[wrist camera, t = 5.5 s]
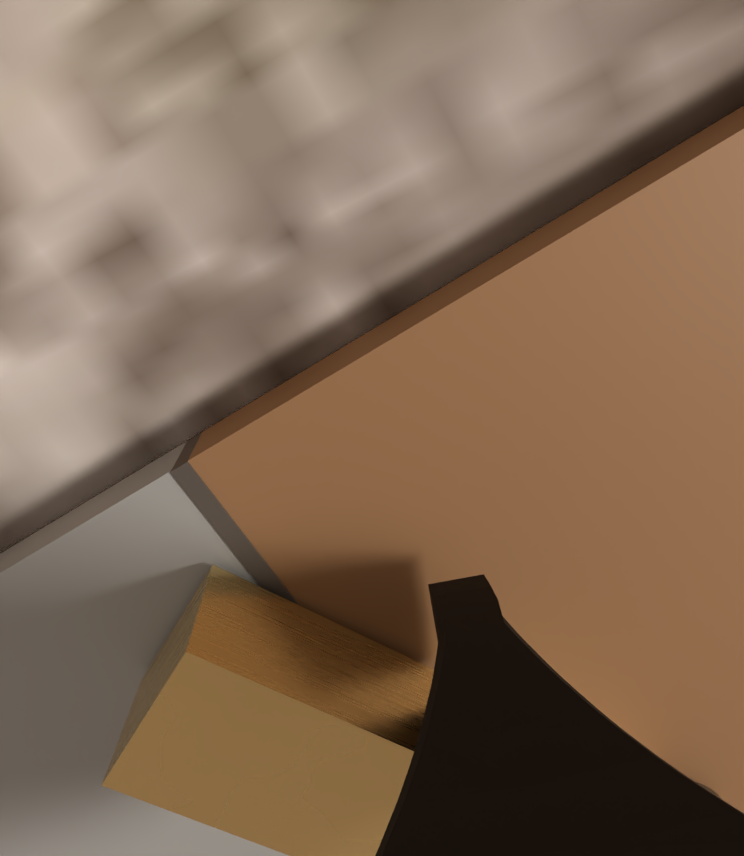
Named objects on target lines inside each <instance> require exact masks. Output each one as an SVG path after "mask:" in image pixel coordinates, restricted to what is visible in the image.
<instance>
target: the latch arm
mask: <svg viewBox="0 0 744 856" xmlns="http://www.w3.org/2000/svg"><path fill="white" fill-rule="evenodd" d="M433 672H434V669H432V668H430V667H428V666H426V665H423V664H421V663H419V662H417V661H415V660H413V659H411V658H409V657H407V656H405V655H402V654H400V653H398V652H396V651H394V650H392V649H390V648H388V647H386V646H384V645H381V644H379V643H377V642H375V641H373V640H371V639H369V638H367V637H365V636H362V635H360V634H358V633H356V632H354V631H352V630H350V629H348V628H346V627H344V626H341V625H339V624H337V623H335V622H333V621H331V620H329V619H327V618H325V617H323V616H320V615H318V614H316V613H314V612H312V611H310V610H308V609H306V608H304V607H301V606H299V605H297V604H295V603H293V602H291V601H289V600H287V599H285V598H283V597H280V596H278V595H276V594H274V593H272V592H270V591H268V590H266V589H264V588H262V587H259V586H257V585H255V584H253V583H251V582H249V581H247V580H245V579H243V578H240V577H238V576H236V575H234V574H232V573H230V572H228V571H226V570H224V569H222V568H219V567H217V566H215V565H213V564H212V566H211V568H210V569H209V571H208V573H207V574H206V576H205V577H204V579H203V581H202V582H201V584H200V586H199V587H198V589H197V590H196V592H195V594H194V595H193V597H192V599H191V600H190V602H189V603H188V605H187V607H186V608H185V610H184V612H183V613H182V615H181V616H180V618H179V620H178V621H177V623H176V625H175V626H174V628H173V629H172V631H171V633H170V634H169V636H168V638H167V639H166V641H165V642H164V644H163V646H162V647H161V649H160V651H159V652H158V654H157V655H156V657H155V659H154V660H153V662H152V664H151V665H150V667H149V668H148V670H147V672H146V673H145V675H144V676H143V678H142V680H141V682H140V685H139V687H138V690H137V693H136V695H135V698H134V701H133V703H132V706H131V709H130V711H129V714H128V716H127V719H126V722H125V724H124V727H123V730H122V732H121V735H120V738H119V740H118V743H117V746H116V748H115V751H114V753H113V756H112V759H111V761H110V764H109V767H108V769H107V772H106V775H105V777H104V780H103V783H102V785H101V786H104V787H107V788H110V789H112V790H115V791H118V792H120V793H123V794H126V795H128V796H131V797H134V798H136V799H139V800H142V801H144V802H147V803H150V804H152V805H155V806H158V807H160V808H163V809H166V810H168V811H171V812H174V813H176V814H179V815H182V816H184V817H187V818H190V819H192V820H195V821H198V822H200V823H203V824H206V825H209V826H211V827H214V828H217V829H219V830H222V831H225V832H227V833H230V834H233V835H235V836H238V837H241V838H243V839H246V840H249V841H251V842H254V843H257V844H259V845H262V846H265V847H267V848H270V849H273V850H275V851H278V852H281V853H283V854H286V855H289V856H375V855H376V853H377V850H378V848H379V846H380V843H381V841H382V838H383V836H384V833H385V831H386V828H387V826H388V823H389V821H390V818H391V816H392V813H393V811H394V808H395V806H396V803H397V800H398V798H399V795H400V792H401V789H402V786H403V784H404V781H405V778H406V775H407V772H408V769H409V766H410V763H411V760H412V757H413V753H414V750H415V747H416V743H417V740H418V737H419V733H420V729H421V725H422V721H423V717H424V713H425V709H426V705H427V701H428V697H429V693H430V688H431V684H432V679H433ZM694 782H695V781H694ZM695 783H697V784H698V785H700V786H701V787H703V788H704V789H706V790H707V791H709V792H710V793H712V794H714V795H715V796H717V797H718V798H720V799H722V798H721V797H720V796H719V795H718V794H717V793H716V792H715V791H713V790H712V789H710V788H709V787H707V786H705V785H703V784H701V783H698V782H695ZM722 800H723V799H722Z"/></svg>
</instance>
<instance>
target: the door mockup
mask: <svg viewBox="0 0 744 856" xmlns="http://www.w3.org/2000/svg"><path fill="white" fill-rule="evenodd" d="M212 564H213V565H215V566H217V567H219V568H222V569H224V570H226V571H228V572H230V573H232V574H234V575H236V576H238V577H240V578H243V579H245V580H247V581H249V582H251V583H253V584H255V585H257V586H259V587H262V588H264V589H266V590H268V591H270V592H272V593H274V594H276V595H278V596H280V597H283V598H285V599H287V600H289V601H291V602H293V603H295V604H297V605H299V606H301V607H304V608H306V609H308V610H310V611H312V612H314V613H316V614H318V615H320V616H323V617H325V618H327V619H329V620H331V621H333V622H335V623H337V624H339V625H341V626H344V627H346V628H348V629H350V630H352V631H354V632H356V633H358V634H360V635H362V636H365V637H367V638H369V639H371V640H373V641H375V642H377V643H379V644H381V645H384V646H386V647H388V648H390V649H392V650H394V651H396V652H398V653H400V654H402V655H405V656H407V657H409V658H411V659H413V660H415V661H417V662H419V663H421V664H423V665H426V666H428V667H430V668H432V669H434V666H435V660H436V654H437V647H438V640H437V634H436V628H435V623H434V617H433V611H432V605H431V599H430V593H429V587H428V584H432V583H438V582H443V581H449V580H455V579H460V578H466V577H471V576H477V575H482V574H484V575H485V577H486V578H487V580H488V582H489V584H490V585H491V587H492V589H493V591H494V593H495V595H496V597H497V599H498V601H499V605H500V609H501V612H502V616H503V617H504V618H505V619H506V620H507V622H508V623H509V624H510V625H511V626H512V627H513V628H514V629H515V631H516V632H517V633H518V634H519V635H520V636H521V637H522V638H523V639H524V640H525V641H526V642H527V643H528V644H529V645H530V646H531V647H532V648H533V649H534V650H535V651H536V652H537V653H538V654H539V655H540V656H541V657H542V658H543V659H544V660H545V661H546V662H547V663H548V664H549V665H550V666H551V667H552V668H553V669H554V670H555V671H556V672H557V673H558V674H559V675H560V676H561V677H562V678H563V679H565V680H566V681H567V682H568V683H569V684H570V685H571V686H572V687H573V688H574V689H576V690H577V691H578V692H579V693H580V694H581V695H582V696H584V697H585V698H586V699H587V700H588V701H589V702H590V703H591V704H593V705H594V706H595V707H596V708H597V709H598V710H600V711H601V712H602V713H603V714H604V715H606V716H607V717H608V718H609V719H610V720H612V721H613V722H614V723H615V724H617V725H618V726H619V727H620V728H622V729H623V730H624V731H625V732H627V733H628V734H629V735H631V736H632V737H633V738H635V739H636V740H637V741H639V742H640V743H641V744H643V745H644V746H645V747H646V748H648V749H649V750H650V751H652V752H653V753H654V754H656V755H657V756H658V757H660V758H661V759H663V760H664V761H666V762H667V763H668V764H670V765H671V766H673V767H674V768H675V769H677V770H678V771H680V772H681V773H683V774H684V775H685V776H687V777H688V778H690V779H691V780H693V781H695V782H698V783H701V784H703V785H705V786H707V787H709V788H710V789H712V790H713V791H715V792H716V793H717V794H718V795H719V796H720V797H721V798H722V799H723V801H725V802H726V803H728V804H730V805H731V806H733V807H734V808H736V809H738V810H739V811H741V812H742V813H744V106H742V107H741V108H739V109H737V110H736V111H734V112H732V113H731V114H729V115H727V116H726V117H724V118H722V119H721V120H719V121H717V122H716V123H714V124H712V125H711V126H709V127H707V128H706V129H704V130H702V131H701V132H699V133H697V134H696V135H694V136H692V137H691V138H689V139H687V140H686V141H684V142H682V143H681V144H679V145H677V146H676V147H674V148H673V149H671V150H669V151H668V152H666V153H664V154H663V155H661V156H659V157H658V158H656V159H654V160H653V161H651V162H649V163H648V164H646V165H644V166H643V167H641V168H639V169H638V170H636V171H634V172H633V173H631V174H629V175H628V176H626V177H624V178H623V179H621V180H619V181H618V182H616V183H614V184H613V185H611V186H609V187H608V188H606V189H604V190H603V191H601V192H599V193H598V194H596V195H595V196H593V197H591V198H590V199H588V200H586V201H585V202H583V203H581V204H580V205H578V206H576V207H575V208H573V209H571V210H570V211H568V212H566V213H565V214H563V215H561V216H560V217H558V218H556V219H555V220H553V221H551V222H550V223H548V224H546V225H545V226H543V227H541V228H540V229H538V230H536V231H535V232H533V233H531V234H530V235H528V236H526V237H525V238H523V239H521V240H520V241H518V242H517V243H515V244H513V245H512V246H510V247H508V248H507V249H505V250H503V251H502V252H500V253H498V254H497V255H495V256H493V257H492V258H490V259H488V260H487V261H485V262H483V263H482V264H480V265H478V266H477V267H475V268H473V269H472V270H470V271H468V272H467V273H465V274H463V275H462V276H460V277H458V278H457V279H455V280H453V281H452V282H450V283H448V284H447V285H445V286H443V287H442V288H440V289H439V290H437V291H435V292H434V293H432V294H430V295H429V296H427V297H425V298H424V299H422V300H420V301H419V302H417V303H415V304H414V305H412V306H410V307H409V308H407V309H405V310H404V311H402V312H400V313H399V314H397V315H395V316H394V317H392V318H390V319H389V320H387V321H385V322H384V323H382V324H380V325H379V326H377V327H375V328H374V329H372V330H370V331H369V332H367V333H365V334H364V335H362V336H360V337H359V338H357V339H356V340H354V341H352V342H351V343H349V344H347V345H346V346H344V347H342V348H341V349H339V350H337V351H336V352H334V353H332V354H331V355H329V356H327V357H326V358H324V359H322V360H321V361H319V362H317V363H316V364H314V365H312V366H311V367H309V368H307V369H306V370H304V371H302V372H301V373H299V374H297V375H296V376H294V377H292V378H291V379H289V380H287V381H286V382H284V383H282V384H281V385H279V386H278V387H276V388H274V389H273V390H271V391H269V392H268V393H266V394H264V395H263V396H261V397H259V398H258V399H256V400H254V401H253V402H251V403H249V404H248V405H246V406H244V407H243V408H241V409H239V410H238V411H236V412H234V413H233V414H231V415H229V416H228V417H226V418H224V419H223V420H221V421H219V422H218V423H216V424H214V425H213V426H211V427H209V428H208V429H206V430H204V431H203V432H201V433H200V434H198V435H196V436H195V437H193V438H191V439H190V440H188V441H186V442H185V443H183V444H181V445H180V446H178V447H176V448H175V449H173V450H171V451H170V452H168V453H166V454H165V455H163V456H161V457H160V458H158V459H156V460H155V461H153V462H151V463H150V464H148V465H146V466H145V467H143V468H141V469H140V470H138V471H136V472H135V473H133V474H131V475H130V476H128V477H126V478H125V479H123V480H122V481H120V482H118V483H117V484H115V485H113V486H112V487H110V488H108V489H107V490H105V491H103V492H102V493H100V494H98V495H97V496H95V497H93V498H92V499H90V500H88V501H87V502H85V503H83V504H82V505H80V506H78V507H77V508H75V509H73V510H72V511H70V512H68V513H67V514H65V515H63V516H62V517H60V518H58V519H57V520H55V521H53V522H52V523H50V524H48V525H47V526H45V527H44V528H42V529H40V530H39V531H37V532H35V533H34V534H32V535H30V536H29V537H27V538H25V539H24V540H22V541H20V542H19V543H17V544H15V545H14V546H12V547H10V548H9V549H7V550H5V551H4V552H2V553H0V856H289V855H286V854H283V853H281V852H278V851H275V850H273V849H270V848H267V847H265V846H262V845H259V844H257V843H254V842H251V841H249V840H246V839H243V838H241V837H238V836H235V835H233V834H230V833H227V832H225V831H222V830H219V829H217V828H214V827H211V826H209V825H206V824H203V823H200V822H198V821H195V820H192V819H190V818H187V817H184V816H182V815H179V814H176V813H174V812H171V811H168V810H166V809H163V808H160V807H158V806H155V805H152V804H150V803H147V802H144V801H142V800H139V799H136V798H134V797H131V796H128V795H126V794H123V793H120V792H118V791H115V790H112V789H110V788H107V787H104V786H101V785H102V783H103V780H104V777H105V775H106V772H107V769H108V767H109V764H110V761H111V759H112V756H113V753H114V751H115V748H116V746H117V743H118V740H119V738H120V735H121V732H122V730H123V727H124V724H125V722H126V719H127V716H128V714H129V711H130V709H131V706H132V703H133V701H134V698H135V695H136V693H137V690H138V687H139V685H140V682H141V680H142V678H143V676H144V675H145V673H146V672H147V670H148V668H149V667H150V665H151V664H152V662H153V660H154V659H155V657H156V655H157V654H158V652H159V651H160V649H161V647H162V646H163V644H164V642H165V641H166V639H167V638H168V636H169V634H170V633H171V631H172V629H173V628H174V626H175V625H176V623H177V621H178V620H179V618H180V616H181V615H182V613H183V612H184V610H185V608H186V607H187V605H188V603H189V602H190V600H191V599H192V597H193V595H194V594H195V592H196V590H197V589H198V587H199V586H200V584H201V582H202V581H203V579H204V577H205V576H206V574H207V573H208V571H209V569H210V568H211V566H212Z"/></svg>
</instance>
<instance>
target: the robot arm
mask: <svg viewBox="0 0 744 856" xmlns="http://www.w3.org/2000/svg"><path fill="white" fill-rule="evenodd" d="M428 587H429V593H430V599H431V605H432V611H433V617H434V623H435V628H436V634H437V640H438V647H437V654H436V660H435V666H434V672H433V679H432V684H431V688H430V693H429V697H428V701H427V705H426V709H425V713H424V717H423V721H422V725H421V729H420V733H419V737H418V740H417V743H416V747H415V750H414V753H413V757H412V760H411V763H410V766H409V769H408V772H407V775H406V778H405V781H404V784H403V786H402V789H401V792H400V795H399V798H398V800H397V803H396V806H395V808H394V811H393V813H392V816H391V818H390V821H389V823H388V826H387V828H386V831H385V833H384V836H383V838H382V841H381V843H380V846H379V848H378V850H377V853H376V855H375V856H744V813H742V812H741V811H739V810H738V809H736V808H734V807H733V806H731V805H730V804H728V803H726V802H725V801H723V800H722V799H720V798H718V797H717V796H715V795H714V794H712V793H710V792H709V791H707V790H706V789H704V788H703V787H701V786H700V785H698V784H697V783H695V782H694V781H693V780H691V779H690V778H688V777H687V776H685V775H684V774H683V773H681V772H680V771H678V770H677V769H675V768H674V767H673V766H671V765H670V764H668V763H667V762H666V761H664V760H663V759H661V758H660V757H658V756H657V755H656V754H654V753H653V752H652V751H650V750H649V749H648V748H646V747H645V746H644V745H643V744H641V743H640V742H639V741H637V740H636V739H635V738H633V737H632V736H631V735H629V734H628V733H627V732H625V731H624V730H623V729H622V728H620V727H619V726H618V725H617V724H615V723H614V722H613V721H612V720H610V719H609V718H608V717H607V716H606V715H604V714H603V713H602V712H601V711H600V710H598V709H597V708H596V707H595V706H594V705H593V704H591V703H590V702H589V701H588V700H587V699H586V698H585V697H584V696H582V695H581V694H580V693H579V692H578V691H577V690H576V689H574V688H573V687H572V686H571V685H570V684H569V683H568V682H567V681H566V680H565V679H563V678H562V677H561V676H560V675H559V674H558V673H557V672H556V671H555V670H554V669H553V668H552V667H551V666H550V665H549V664H548V663H547V662H546V661H545V660H544V659H543V658H542V657H541V656H540V655H539V654H538V653H537V652H536V651H535V650H534V649H533V648H532V647H531V646H530V645H529V644H528V643H527V642H526V641H525V640H524V639H523V638H522V637H521V636H520V635H519V634H518V633H517V632H516V631H515V629H514V628H513V627H512V626H511V625H510V624H509V623H508V622H507V620H506V619H505V618H504V617H503V616H502V612H501V609H500V605H499V601H498V599H497V597H496V595H495V593H494V591H493V589H492V587H491V585H490V584H489V582H488V580H487V578H486V577H485V575H484V574H482V575H477V576H471V577H466V578H460V579H455V580H449V581H443V582H438V583H432V584H428Z"/></svg>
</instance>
